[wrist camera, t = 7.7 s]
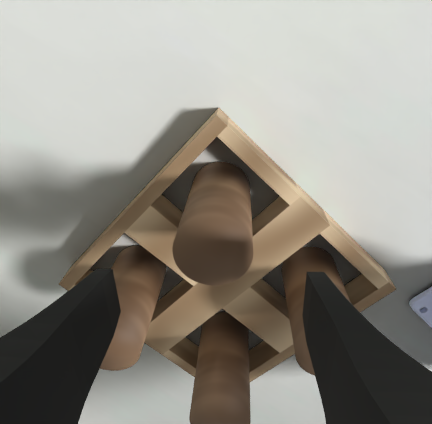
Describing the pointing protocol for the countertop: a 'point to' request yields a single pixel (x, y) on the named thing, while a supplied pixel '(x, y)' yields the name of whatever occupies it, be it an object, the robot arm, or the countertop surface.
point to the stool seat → (229, 293)
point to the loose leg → (216, 226)
